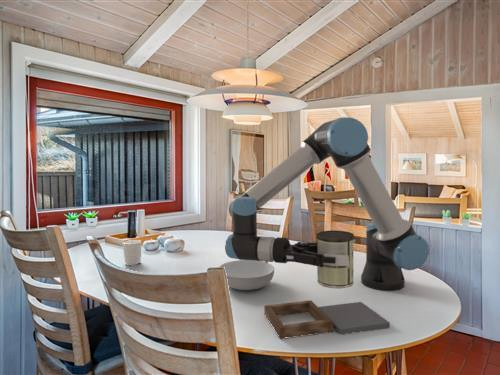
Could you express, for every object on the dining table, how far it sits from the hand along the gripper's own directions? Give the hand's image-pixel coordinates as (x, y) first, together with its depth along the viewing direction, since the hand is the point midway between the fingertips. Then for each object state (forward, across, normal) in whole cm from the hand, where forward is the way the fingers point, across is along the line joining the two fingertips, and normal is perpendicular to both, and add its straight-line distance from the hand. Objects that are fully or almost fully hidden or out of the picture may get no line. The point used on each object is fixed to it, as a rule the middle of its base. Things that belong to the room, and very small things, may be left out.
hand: (350, 255), depth 104 cm
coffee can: (-4, 0, -8) cm, 9 cm away
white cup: (-99, -28, -19) cm, 105 cm away
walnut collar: (-14, +5, -20) cm, 25 cm away
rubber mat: (0, -2, -20) cm, 20 cm away
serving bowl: (-39, -18, -20) cm, 48 cm away
